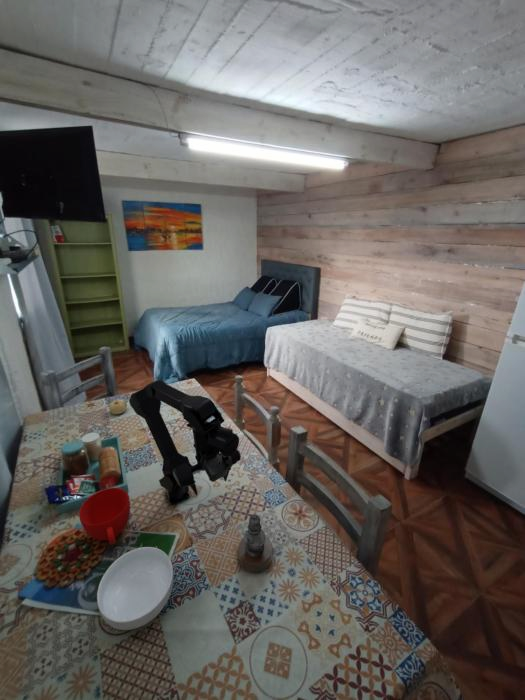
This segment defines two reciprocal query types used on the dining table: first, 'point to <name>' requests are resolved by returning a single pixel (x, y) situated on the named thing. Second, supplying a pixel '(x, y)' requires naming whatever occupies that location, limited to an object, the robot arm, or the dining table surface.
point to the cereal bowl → (135, 588)
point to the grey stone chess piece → (254, 537)
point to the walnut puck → (255, 558)
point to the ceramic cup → (105, 514)
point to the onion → (117, 406)
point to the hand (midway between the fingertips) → (211, 487)
